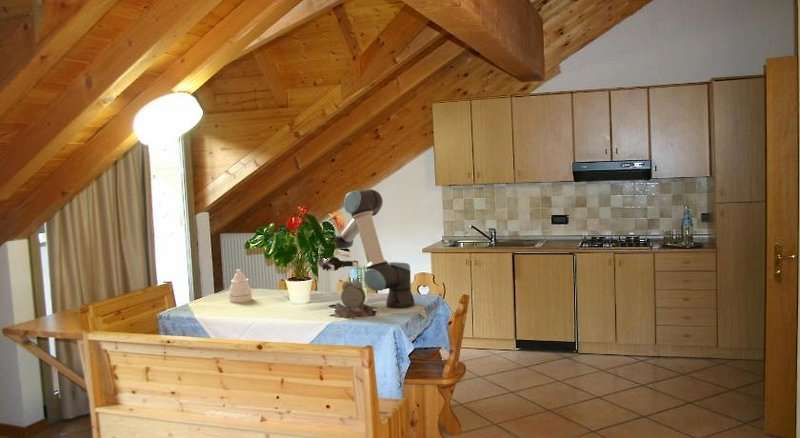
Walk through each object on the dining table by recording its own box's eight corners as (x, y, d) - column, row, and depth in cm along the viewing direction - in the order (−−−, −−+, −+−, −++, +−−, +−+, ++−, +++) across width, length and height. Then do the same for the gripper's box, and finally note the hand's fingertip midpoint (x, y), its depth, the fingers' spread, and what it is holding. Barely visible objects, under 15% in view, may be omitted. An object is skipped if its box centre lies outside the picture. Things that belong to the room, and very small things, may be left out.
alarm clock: (367, 309, 349) (364, 280, 348) (362, 312, 343) (358, 282, 342) (346, 310, 353) (343, 281, 352) (340, 313, 347) (337, 283, 346)
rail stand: (360, 309, 361) (359, 300, 361) (373, 315, 345) (373, 306, 344) (334, 312, 355) (334, 303, 355) (347, 319, 339) (346, 310, 338)
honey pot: (249, 302, 392) (247, 270, 390) (226, 302, 392) (224, 271, 391) (254, 297, 405) (252, 267, 403) (232, 298, 405) (230, 268, 403)
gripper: (353, 267, 385) (368, 271, 365) (310, 272, 374) (323, 276, 355) (352, 254, 384) (367, 257, 365) (310, 258, 373) (322, 262, 354)
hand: (345, 266), depth 360 cm, fingers open, 13 cm apart
